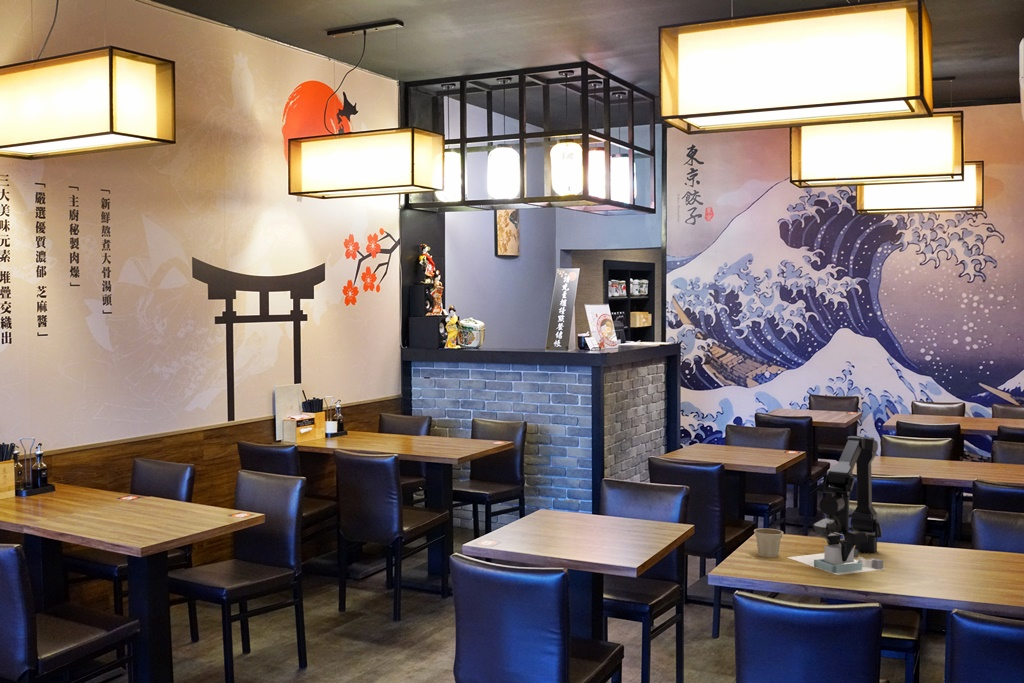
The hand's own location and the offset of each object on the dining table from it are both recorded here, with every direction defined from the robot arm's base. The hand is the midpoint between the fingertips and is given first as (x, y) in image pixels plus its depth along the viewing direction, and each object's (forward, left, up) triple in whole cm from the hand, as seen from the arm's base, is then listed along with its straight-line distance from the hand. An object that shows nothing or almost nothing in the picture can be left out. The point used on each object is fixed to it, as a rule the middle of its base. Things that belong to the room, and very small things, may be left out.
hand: (839, 559), depth 291 cm
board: (-3, -5, -3) cm, 7 cm away
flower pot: (+10, -22, -4) cm, 24 cm away
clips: (-10, +1, -3) cm, 10 cm away
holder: (+1, 0, -2) cm, 3 cm away
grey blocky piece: (-10, +3, -2) cm, 10 cm away
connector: (-1, 0, -1) cm, 1 cm away
